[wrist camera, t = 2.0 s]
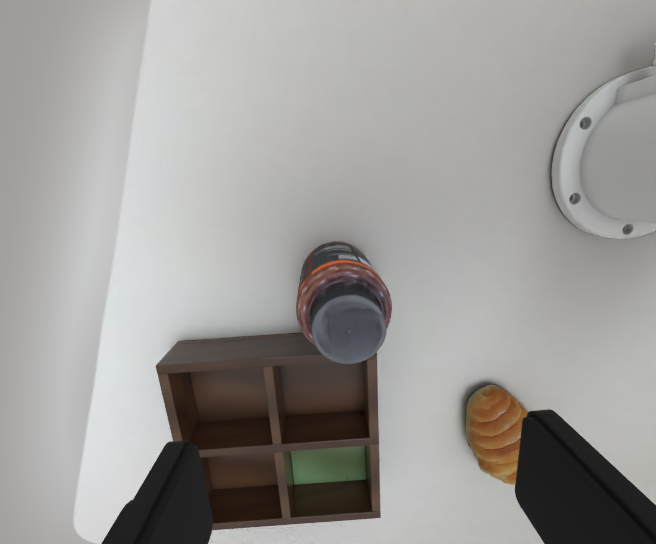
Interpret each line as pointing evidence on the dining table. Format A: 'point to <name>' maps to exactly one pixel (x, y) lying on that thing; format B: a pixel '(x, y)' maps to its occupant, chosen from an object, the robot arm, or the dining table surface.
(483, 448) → the pastry
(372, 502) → the grid
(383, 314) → the supplement bottle
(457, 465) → the dining table surface
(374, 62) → the dining table surface
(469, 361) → the dining table surface
